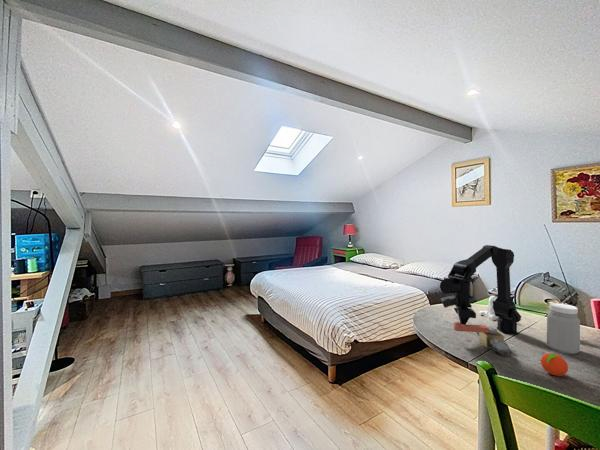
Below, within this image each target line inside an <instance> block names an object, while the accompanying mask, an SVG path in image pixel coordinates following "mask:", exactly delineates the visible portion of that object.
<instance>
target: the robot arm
mask: <svg viewBox="0 0 600 450" xmlns="http://www.w3.org/2000/svg"><path fill="white" fill-rule="evenodd" d="M488 259H491V262H492V263H493V265H494V266H495V268H496V288H497V289H496V290H497V296H496V297H497V299H496V300H495V301H493V309H494V312H495V316H498V317H499V318H498V319H497V325H496V330H498V331H500V332H501V333H502V334H510V335H519V334H520V332H518V329H517V328H518V323H520V322H521V319H522V315H521V314H520V313H519V312H518V311H517V306H516V303H515V302H514V300H513V299H512V297H511V295H512V294H511V293H512V292H511V291H512V290H511V275H510V274H511V273H510V271H511V270H510V269H511V268H510V267H511V266H512V265H513V263H514V260H515V253H514V251H512V250H511V249H509V248H508V249H507V248H502V247H498V246H496V245H489V244H486V245H483V246H482V248H480V249H479V250H478V251H476V252H475V253H474V254H472V255H471V256H469V257H468V258H467V259H463V260H458V261H457V262H455V263H454V264H453V265H452V268H451V269H450V271H449V273H448V274H447V277H443V280H442V281H440V284H439V289H440V291H441V292H442V293H443V294H444V295H449V294H453V295H449V296H445V297H441V298H440V300H441V303H442V306H443V308H445V309H446V308H449V307H452V306H455V307H453V310H454V311H455V313H456V314H457V316H458V319H459V322H460V323H462V324H467V323H468V321H469V320H470V318H471V319H476V318H477V313H476V311H475V310H474V309H472V304H471V299H472V297H473V296H472V295H471V286H472V285H471V282H475V279H474V278H472V276H473V275H474V274H475V273H476V272H477V268H478V267H479V266H481V265H482V264H483V263H484V262H486V261H487V260H488Z"/></svg>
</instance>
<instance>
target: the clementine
mask: <svg viewBox="0 0 600 450" xmlns="http://www.w3.org/2000/svg"><path fill="white" fill-rule="evenodd" d="M540 364H541V366H542V368H543V369H544V371H545V372H547V373H548V374H550V375H553V376H557V377H561V376H564V375H566V374H567V373H568V371H569V366H568V363H567V361H566V360H565V359H564V358H563V357H562V356H560V355H558V354H557V353H551V352H549V353H545V354H544V355H542V356H541V357H540Z"/></svg>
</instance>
